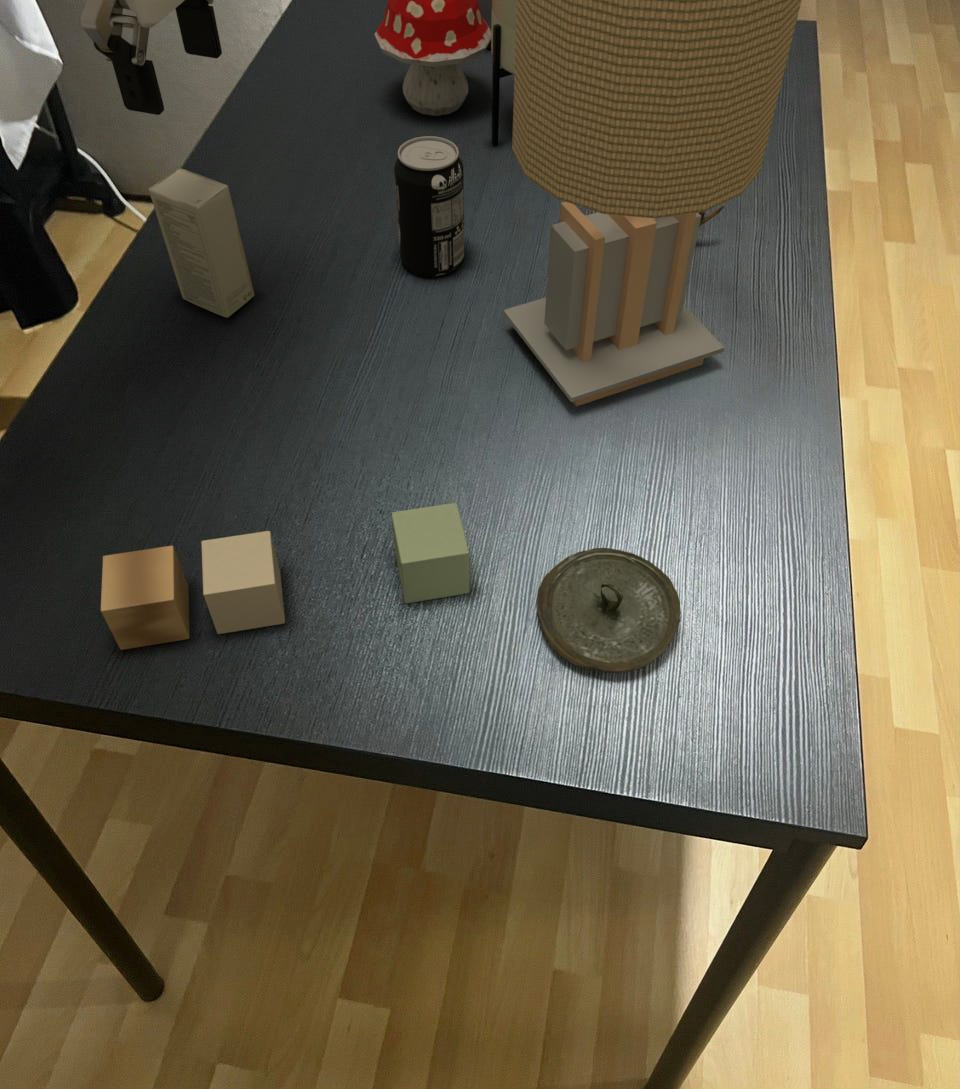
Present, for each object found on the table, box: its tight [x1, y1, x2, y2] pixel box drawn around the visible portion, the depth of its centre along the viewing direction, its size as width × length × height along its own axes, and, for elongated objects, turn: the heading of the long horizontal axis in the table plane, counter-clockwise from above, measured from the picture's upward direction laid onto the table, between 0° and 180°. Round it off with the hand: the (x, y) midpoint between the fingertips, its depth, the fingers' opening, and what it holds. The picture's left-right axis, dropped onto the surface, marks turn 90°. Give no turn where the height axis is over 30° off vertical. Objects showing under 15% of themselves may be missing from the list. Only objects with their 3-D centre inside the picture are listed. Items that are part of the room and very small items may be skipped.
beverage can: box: [393, 135, 465, 277], centre depth 98 cm, size 7×7×12 cm
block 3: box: [390, 502, 471, 604], centre depth 75 cm, size 5×5×5 cm
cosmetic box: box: [148, 168, 255, 319], centre depth 94 cm, size 6×4×12 cm
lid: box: [535, 547, 682, 674], centre depth 73 cm, size 11×10×5 cm
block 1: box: [100, 545, 191, 651], centre depth 73 cm, size 5×5×5 cm
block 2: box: [200, 530, 286, 635], centre depth 73 cm, size 5×5×5 cm
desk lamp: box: [502, 0, 802, 407], centre depth 80 cm, size 20×20×35 cm
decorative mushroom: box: [374, 0, 491, 117], centre depth 117 cm, size 14×14×15 cm
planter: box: [490, 0, 517, 147], centre depth 110 cm, size 15×16×23 cm
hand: (175, 81), depth 80 cm, fingers open, 9 cm apart
